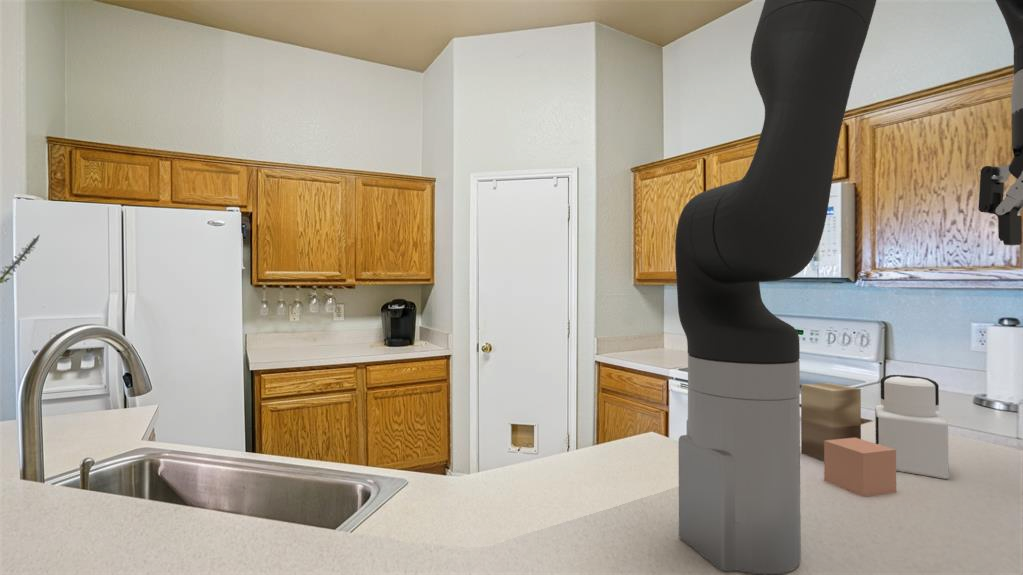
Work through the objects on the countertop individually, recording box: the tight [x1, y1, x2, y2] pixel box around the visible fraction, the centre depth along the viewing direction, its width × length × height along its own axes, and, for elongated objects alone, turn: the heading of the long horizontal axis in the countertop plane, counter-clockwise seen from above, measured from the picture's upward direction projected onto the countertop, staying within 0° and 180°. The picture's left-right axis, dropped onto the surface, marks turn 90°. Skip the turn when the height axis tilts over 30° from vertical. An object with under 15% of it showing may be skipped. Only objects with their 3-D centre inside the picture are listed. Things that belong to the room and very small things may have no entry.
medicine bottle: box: [874, 374, 950, 480], centre depth 65 cm, size 7×7×12 cm
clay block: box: [823, 438, 897, 497], centre depth 58 cm, size 5×5×5 cm
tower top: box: [800, 382, 862, 428], centre depth 69 cm, size 5×5×5 cm
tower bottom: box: [800, 418, 862, 462], centre depth 69 cm, size 5×5×5 cm
